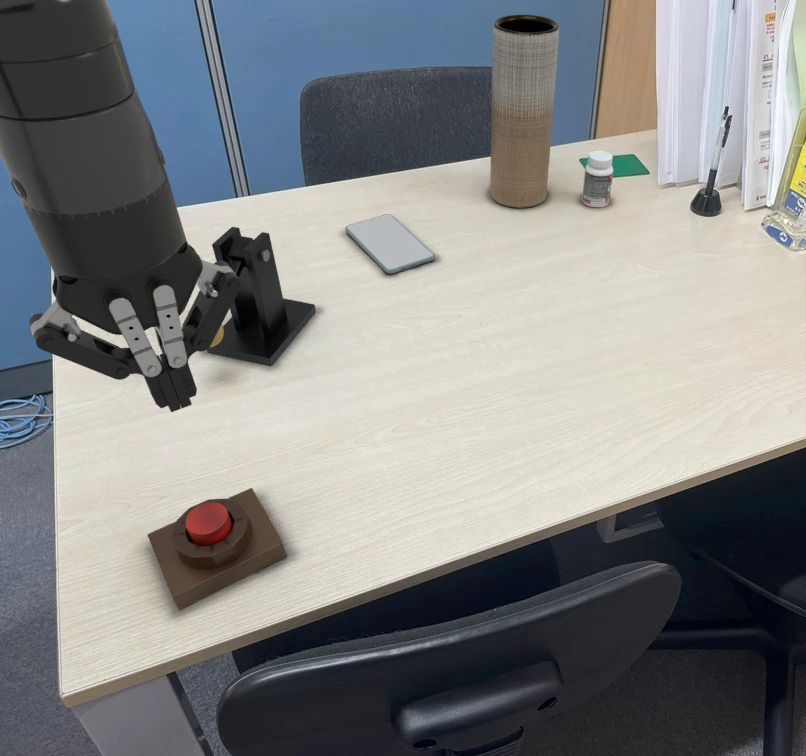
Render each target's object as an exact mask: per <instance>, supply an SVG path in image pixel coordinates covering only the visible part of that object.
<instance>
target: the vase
mask: <svg viewBox="0 0 806 756" xmlns="http://www.w3.org/2000/svg"><path fill="white" fill-rule="evenodd" d="M559 36H560V25H559V23H558V22H557V21H556V20H554V19H552V18H549V17H546V16H541V15H536V14H535V15H533V14H511V15H505V16H501V17H498V18H497V19H495V20H494V21H493V24H492V57H491V58H492V59H491V62H492V63H491V64H492V65H491V111H490V113H491V117H490V119H491V121H490V122H491V123H490V177H489V178H490V179H489V189H490V192H489V193H490V198H492V200H493V201H494V202H496V203H498V204H499V205H502V206H504V207H509V208H514V209H515V208H516V209H526V208H532V207H536V206H538V205H540V204H542V203H543V202H544V201H545V200H546V198H547V194H548V184H549V183H548V182H549V169H550V159H551V157H550V156H551V143H552V131H553V129H552V128H553V119H554V106H555V105H554V104H555V92H556V77H557V67H558V65H557V64H558V53H559V39H560V38H559Z"/></svg>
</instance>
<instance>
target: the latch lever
mask: <svg viewBox="0 0 806 756" xmlns="http://www.w3.org/2000/svg"><path fill="white" fill-rule="evenodd" d="M253 240H254V238H253V237H249V236H242V235H241V236H238V235H236V237H235V239H234V241H233V243H232V245H231V248H230V250H229V252H228V254H227V255H228V256H229V257H230V258H231V260H232V261H233V262H232V264H231V266H230V268H231V269H232V270H233V271H234V273H235V274H236V275H237V277H238V278H239V277H240V275H241V273H242V270H243V268H244V267H247V265H246V261H245V257H244V253H243V249H244V248H246V247H247V246H248V245H249V244H250V243H251V242H252V241H253ZM223 326H224V325H223V324H222V325H221V326H220V328H219V330H218V332H217V334H216V336H215V338H214V340H213V342H212V344H211V346H210V347H213V346H216V345H217V344H219V343H220V342H221V340H222V339H223V336H224V328H223Z"/></svg>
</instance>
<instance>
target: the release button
mask: <svg viewBox="0 0 806 756" xmlns="http://www.w3.org/2000/svg"><path fill="white" fill-rule="evenodd" d="M185 524H186V528H187V530H188V532H189V535H190V537H191V539H192V540H193V541H194V542H195V543H196V544H199V545H203V546H208V545H213V544H216V543H218V542H220V541H222V540H223V539H224V538H225V537H226V536H227V535H228V534H229V532H230V530H231V526H232V523H231V520H230V517H229V515H228V512H227V509H226V508H225V507H224V506H223V505H221V504H219V503H215V502H209V503H204V504H201V505H199V506H197V507H196V508H194V509H193V510H192V511H191V512H190V513H189V514H188V516H187V518H186V523H185Z"/></svg>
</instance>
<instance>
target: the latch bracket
mask: <svg viewBox="0 0 806 756" xmlns="http://www.w3.org/2000/svg"><path fill="white" fill-rule="evenodd" d="M236 235H238V236H242V234H241V230H240V227H238V226H237V227H236V226H231V227H230V228H229V229H227V230H226V231H225V232H224V233H223V234H222V235H221V236H219V237H218V238H217V239H216V240H215V241H214V242H213V243H212V244H211V246H212V249H213V254H214V257H215V262H217V261H225V262H226V263H227V264H228V265H229V266H231V264H232V262H233V261H232V260H231V258H230V257H229V256H228V255H227V254H228V252H229V250H230V248H231V245H232V243H233V241H234V239H235V237H236ZM243 253H244V257H245V261H246V265H247V267H244V268H243V270H242V273H241V275H240V277H239V279H240V281H241V288H240V290H239V292H238V293H237V295H236V297H235V299H234V301H233V303H232V305H231V307H230V309H229V311H230V315H231V317H230V318H229V319H228V320H227V321H226V323H225V324H224V325H222V326H223V328H224V336H223V339H222V340H221V342H220V343H219V344H217V345H216V346H213V347H209V348H208V349H207V350H206V352H207V353H210V354H215V355H219V356H224V357H228V358H234V359H238V360H243V361H248V362H253V363H256V364H261V365H266V366H270V367H271V366H273V365H274V364H275V363H276V361H277V360H278V359H279V358H280V356H281V355H282V354H283V353H284V351H285V350H286V349H287V348H288V346H290V344H291V343H292V341H293V340H294V339H295V338H296V336H297V335H298V334H299V333H300V332H301V331H302V329H303V328H304V327H305V325H306V324H307V323H308V322H309V320H311V319H312V317H313V316H314V314H315V313H316V312H317V309H316V305H315V304H314V303H311V302H310V303H309V302H304V301H299V300H294V299H289V298H284V295H283V291H282V285H281V282H280V277H279V273H278V268H277V263H276V259H275V254H274V249H273V245H272V240H271V236H270V233H269V232H265V231H262V232H260V233H259V234H258V235H257V236H256V237H255V238H253V241H252V242H251V243H250V244H249V245H248V246H247V247H246V248H244V249H243Z"/></svg>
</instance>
